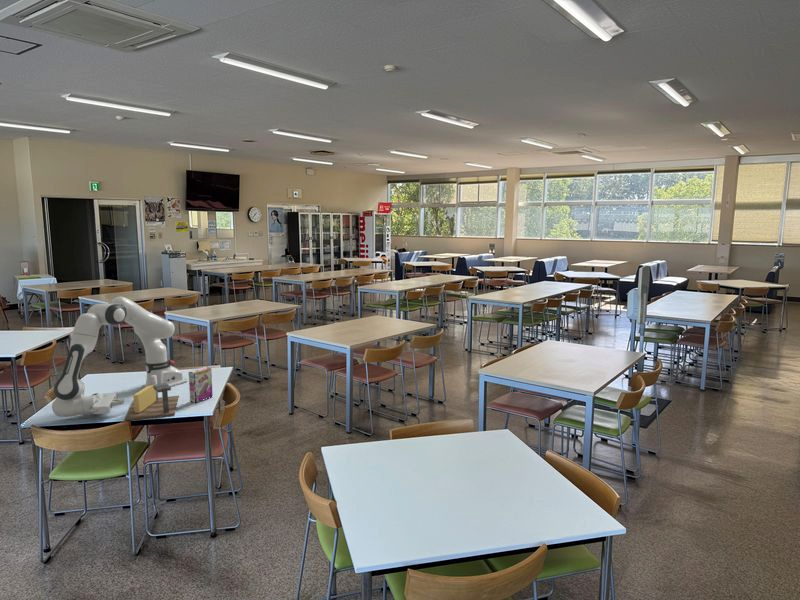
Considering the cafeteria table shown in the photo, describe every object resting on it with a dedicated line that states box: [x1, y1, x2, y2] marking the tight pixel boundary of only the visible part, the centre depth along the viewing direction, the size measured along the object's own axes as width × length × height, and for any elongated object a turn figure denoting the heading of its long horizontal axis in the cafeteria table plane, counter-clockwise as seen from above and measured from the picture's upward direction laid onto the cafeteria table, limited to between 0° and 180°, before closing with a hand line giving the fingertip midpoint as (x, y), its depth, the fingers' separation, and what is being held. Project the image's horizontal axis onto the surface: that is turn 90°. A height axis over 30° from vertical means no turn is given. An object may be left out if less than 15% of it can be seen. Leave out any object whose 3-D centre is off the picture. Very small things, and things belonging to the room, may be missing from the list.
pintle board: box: [123, 383, 180, 422], centre depth 270 cm, size 28×22×14 cm
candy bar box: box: [188, 366, 213, 403], centre depth 282 cm, size 11×5×16 cm, turn 149°
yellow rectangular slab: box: [133, 375, 159, 413], centre depth 270 cm, size 20×3×13 cm, turn 178°
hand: (123, 401), depth 264 cm, fingers closed
